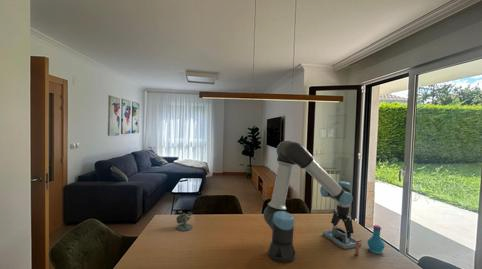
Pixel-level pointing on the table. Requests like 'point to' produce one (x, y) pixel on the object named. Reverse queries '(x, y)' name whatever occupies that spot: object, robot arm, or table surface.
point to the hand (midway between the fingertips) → (341, 238)
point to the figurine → (182, 219)
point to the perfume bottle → (376, 241)
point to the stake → (357, 246)
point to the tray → (344, 245)
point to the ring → (339, 234)
